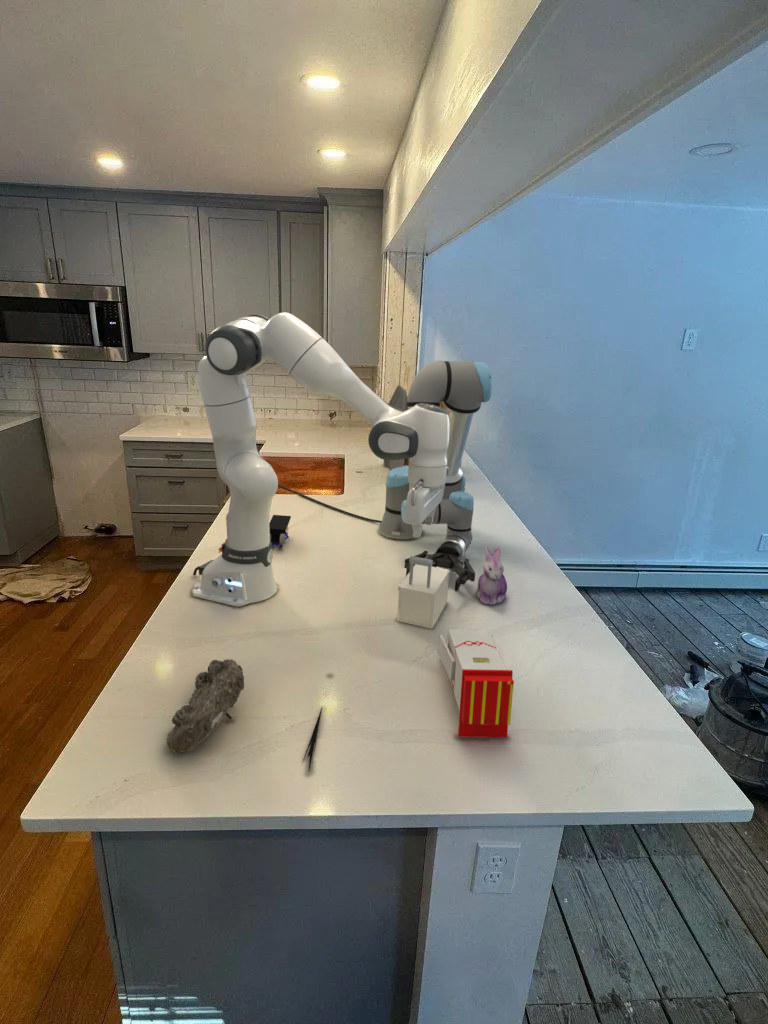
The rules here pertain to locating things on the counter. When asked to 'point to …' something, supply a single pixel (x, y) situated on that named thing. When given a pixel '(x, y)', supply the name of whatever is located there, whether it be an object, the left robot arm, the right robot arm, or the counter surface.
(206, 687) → the fossil
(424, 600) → the chest
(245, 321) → the left robot arm
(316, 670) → the counter surface
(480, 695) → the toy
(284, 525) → the figurine character
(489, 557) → the figurine
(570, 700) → the counter surface
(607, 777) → the counter surface
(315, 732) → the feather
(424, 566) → the lid
